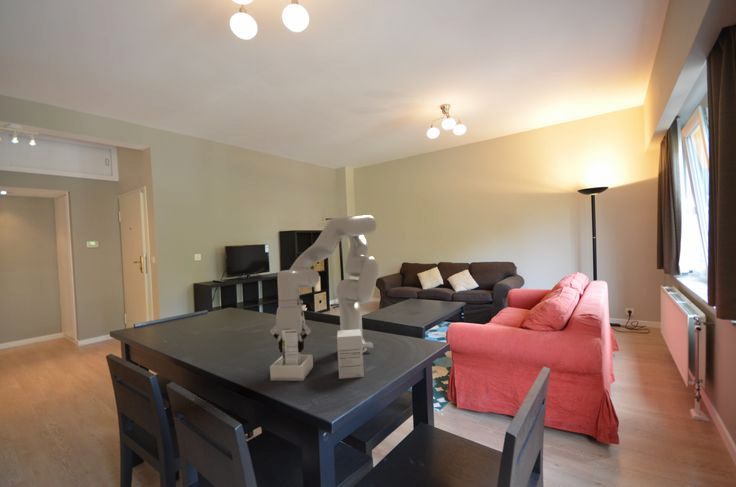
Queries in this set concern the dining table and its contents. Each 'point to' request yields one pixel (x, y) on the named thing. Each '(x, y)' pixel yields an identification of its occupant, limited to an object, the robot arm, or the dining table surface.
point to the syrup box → (290, 347)
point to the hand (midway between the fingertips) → (291, 350)
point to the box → (291, 369)
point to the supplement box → (350, 353)
